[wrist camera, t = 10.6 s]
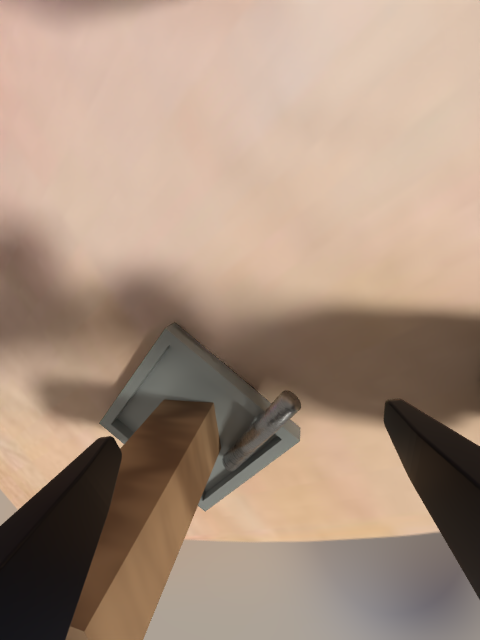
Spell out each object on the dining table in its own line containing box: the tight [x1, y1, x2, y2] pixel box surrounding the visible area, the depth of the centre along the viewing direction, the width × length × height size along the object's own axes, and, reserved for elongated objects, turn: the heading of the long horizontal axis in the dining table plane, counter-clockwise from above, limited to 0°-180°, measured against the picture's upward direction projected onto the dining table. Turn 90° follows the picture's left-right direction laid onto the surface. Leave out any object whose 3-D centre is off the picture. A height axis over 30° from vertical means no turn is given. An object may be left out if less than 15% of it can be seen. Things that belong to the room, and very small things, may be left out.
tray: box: [99, 322, 300, 511], centre depth 24 cm, size 14×14×2 cm
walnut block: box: [66, 400, 221, 640], centre depth 17 cm, size 5×5×14 cm
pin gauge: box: [222, 391, 301, 471], centre depth 20 cm, size 10×2×2 cm
